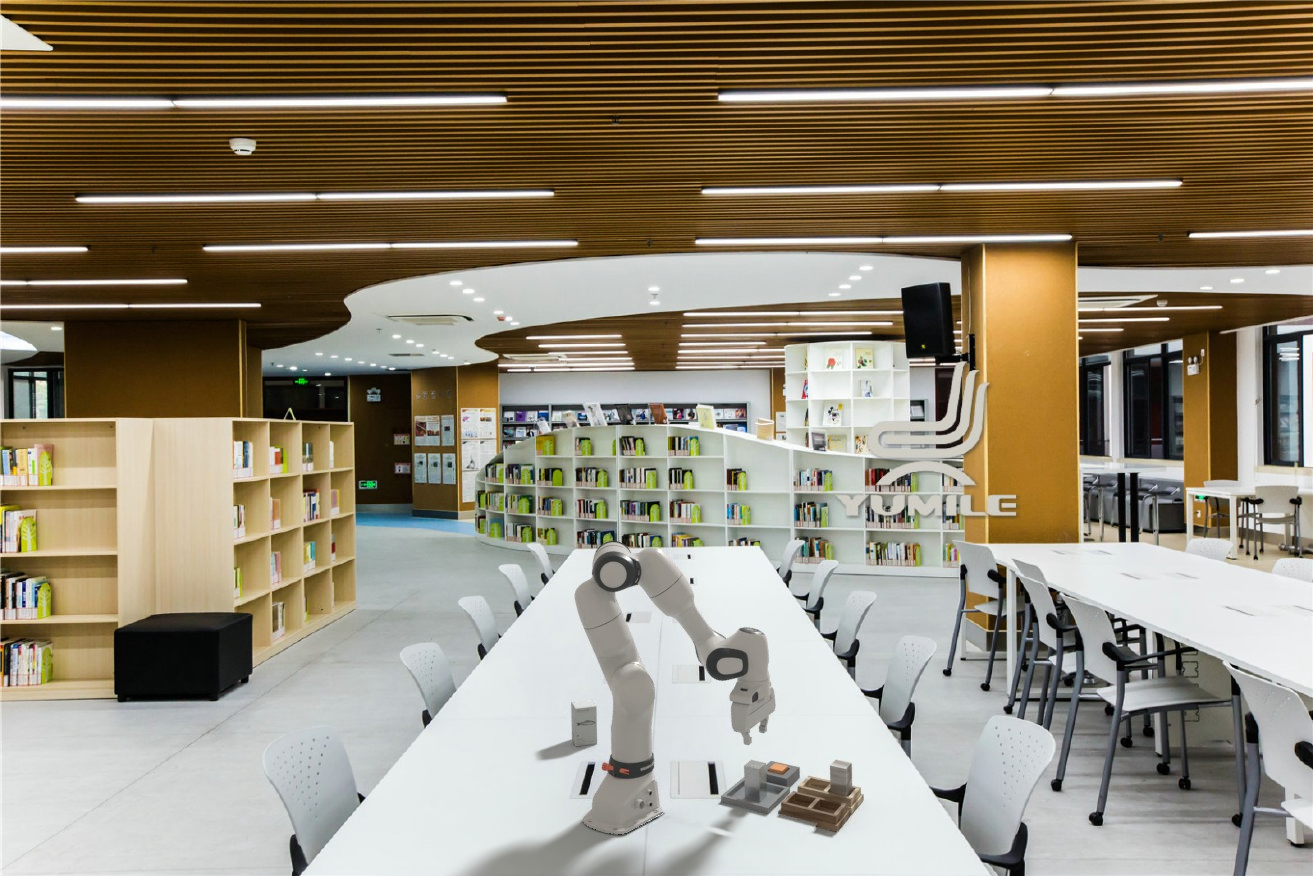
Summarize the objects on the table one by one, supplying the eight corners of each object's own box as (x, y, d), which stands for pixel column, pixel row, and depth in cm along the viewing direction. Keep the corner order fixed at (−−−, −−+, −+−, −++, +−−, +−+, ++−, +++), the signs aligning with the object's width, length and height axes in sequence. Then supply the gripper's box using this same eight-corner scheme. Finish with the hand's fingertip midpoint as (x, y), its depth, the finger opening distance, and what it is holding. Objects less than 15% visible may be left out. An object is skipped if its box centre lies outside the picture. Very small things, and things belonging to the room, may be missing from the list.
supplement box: (575, 747, 260) (574, 708, 260) (571, 739, 267) (570, 701, 267) (597, 744, 262) (596, 706, 262) (593, 736, 269) (592, 698, 269)
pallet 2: (837, 832, 202) (836, 818, 202) (778, 816, 211) (778, 803, 211) (849, 816, 210) (849, 803, 210) (792, 802, 219) (792, 789, 219)
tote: (768, 817, 210) (768, 808, 210) (721, 805, 218) (720, 796, 218) (790, 796, 222) (789, 787, 222) (744, 785, 230) (744, 776, 230)
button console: (787, 793, 224) (786, 779, 224) (757, 786, 229) (757, 772, 229) (799, 781, 232) (799, 767, 232) (771, 774, 237) (770, 760, 237)
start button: (782, 781, 228) (782, 771, 228) (769, 778, 230) (769, 768, 230) (788, 776, 231) (788, 766, 231) (775, 773, 233) (775, 763, 233)
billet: (759, 802, 217) (759, 769, 217) (744, 798, 220) (743, 765, 219) (766, 795, 221) (766, 763, 221) (751, 792, 223) (750, 759, 223)
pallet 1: (851, 814, 211) (851, 774, 211) (795, 800, 220) (794, 761, 220) (863, 799, 219) (862, 761, 219) (808, 786, 228) (807, 749, 228)
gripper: (759, 675, 230) (761, 723, 230) (726, 697, 213) (728, 749, 213) (780, 678, 227) (781, 727, 227) (747, 700, 210) (749, 753, 210)
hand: (755, 738), depth 220 cm, fingers open, 8 cm apart
